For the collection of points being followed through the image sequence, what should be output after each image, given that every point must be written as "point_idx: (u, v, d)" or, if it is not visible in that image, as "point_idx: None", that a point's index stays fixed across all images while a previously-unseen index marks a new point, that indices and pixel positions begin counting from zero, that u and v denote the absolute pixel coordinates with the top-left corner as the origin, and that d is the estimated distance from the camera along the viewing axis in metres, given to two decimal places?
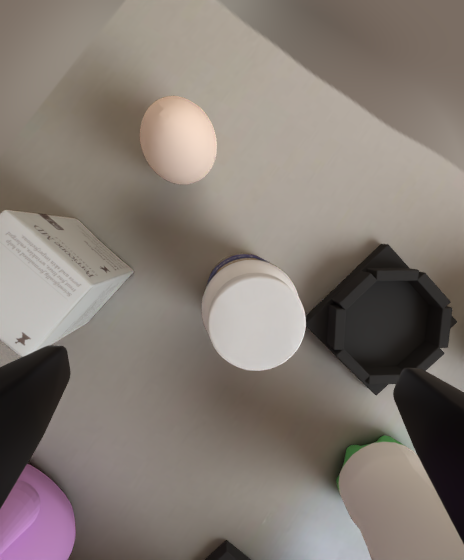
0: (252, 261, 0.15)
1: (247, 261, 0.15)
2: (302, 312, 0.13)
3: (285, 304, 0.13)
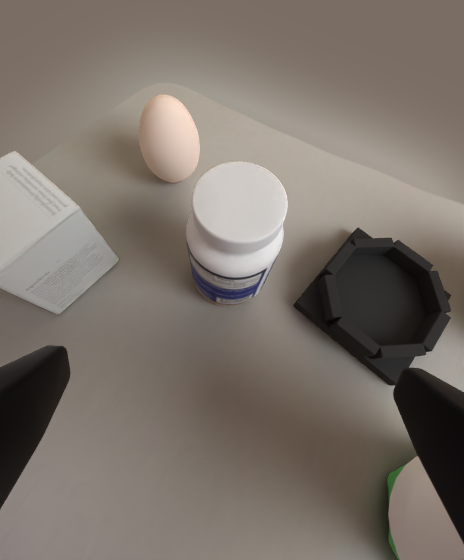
0: None
1: None
2: (281, 187, 0.14)
3: (264, 181, 0.14)
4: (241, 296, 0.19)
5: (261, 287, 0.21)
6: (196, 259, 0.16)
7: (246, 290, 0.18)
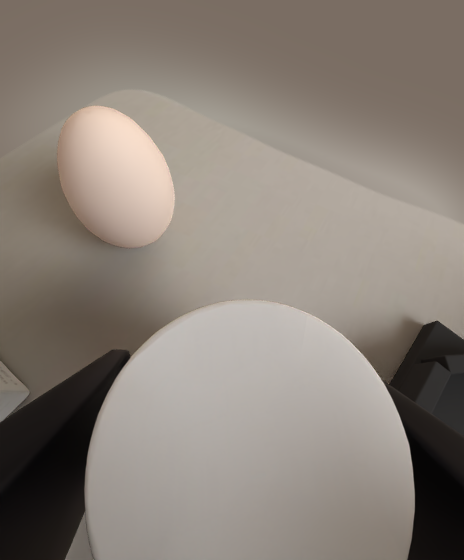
0: None
1: None
2: (386, 397, 0.04)
3: (330, 373, 0.04)
4: None
5: None
6: None
7: None
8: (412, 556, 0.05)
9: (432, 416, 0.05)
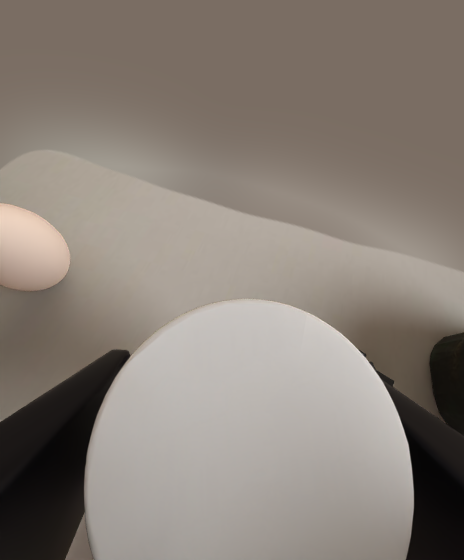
0: None
1: None
2: (385, 396, 0.04)
3: (328, 373, 0.04)
4: None
5: None
6: None
7: None
8: (412, 556, 0.05)
9: (433, 417, 0.05)
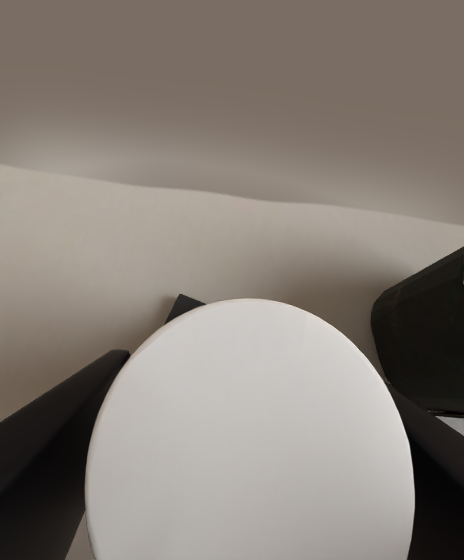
0: None
1: None
2: (386, 395, 0.04)
3: (329, 372, 0.04)
4: None
5: None
6: None
7: None
8: (412, 556, 0.05)
9: (432, 416, 0.05)
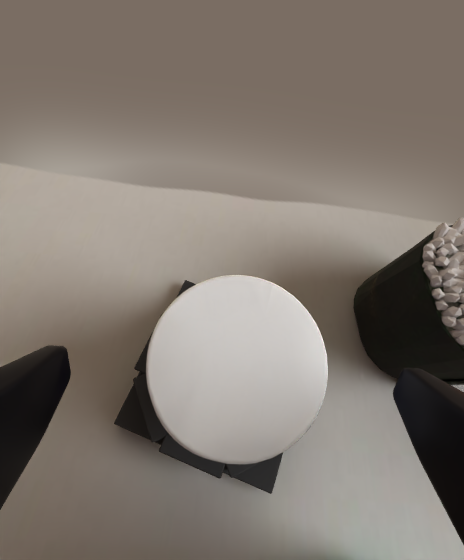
0: None
1: None
2: (315, 330, 0.07)
3: (283, 317, 0.08)
4: None
5: None
6: (164, 426, 0.09)
7: None
8: None
9: None
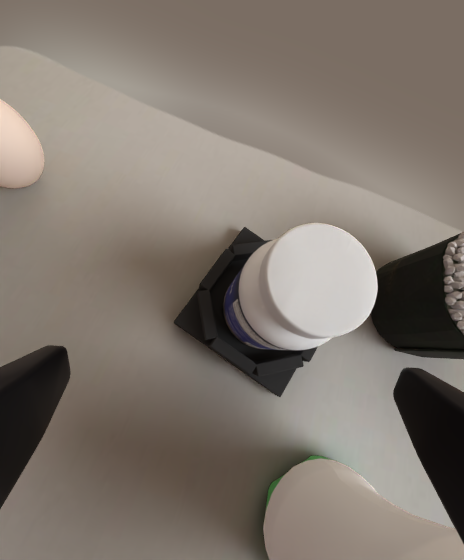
0: None
1: None
2: (374, 272, 0.11)
3: (355, 259, 0.11)
4: None
5: None
6: (245, 317, 0.13)
7: None
8: None
9: None
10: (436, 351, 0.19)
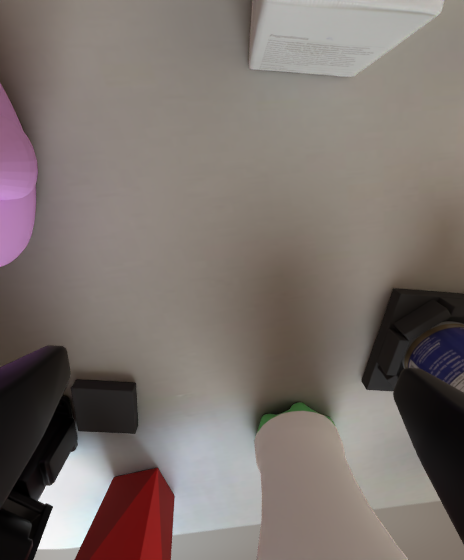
0: None
1: None
2: None
3: None
4: None
5: None
6: None
7: None
8: None
9: None
10: None
